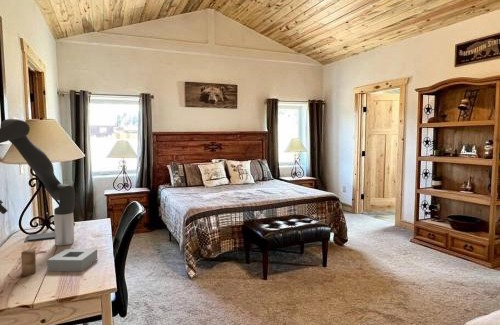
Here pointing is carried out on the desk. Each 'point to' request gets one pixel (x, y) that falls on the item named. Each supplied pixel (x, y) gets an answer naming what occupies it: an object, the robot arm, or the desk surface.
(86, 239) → the desk surface
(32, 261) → the peg
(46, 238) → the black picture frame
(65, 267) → the socket block
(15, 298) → the desk surface
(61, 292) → the desk surface
